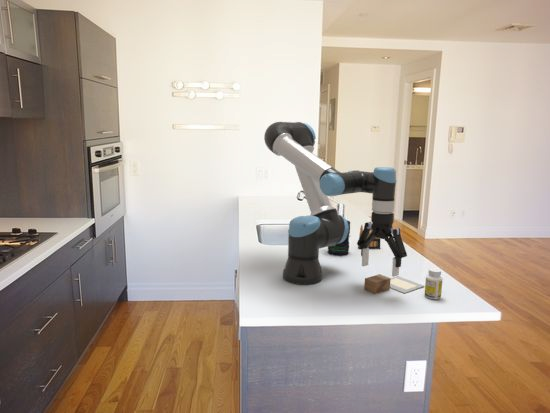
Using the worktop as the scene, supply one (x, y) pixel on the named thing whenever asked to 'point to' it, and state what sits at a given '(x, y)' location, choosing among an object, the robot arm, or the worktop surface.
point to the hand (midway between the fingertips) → (379, 270)
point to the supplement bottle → (433, 284)
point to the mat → (404, 285)
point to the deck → (377, 284)
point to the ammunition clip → (374, 244)
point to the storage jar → (340, 246)
